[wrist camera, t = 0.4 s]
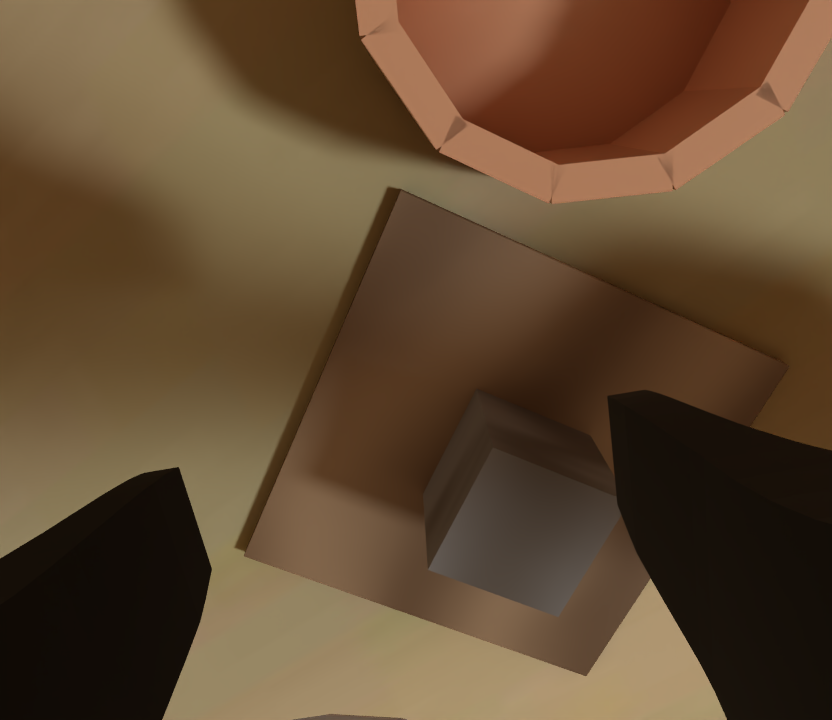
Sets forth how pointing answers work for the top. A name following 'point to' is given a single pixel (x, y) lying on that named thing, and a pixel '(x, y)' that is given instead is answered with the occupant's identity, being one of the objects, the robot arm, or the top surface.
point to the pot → (594, 83)
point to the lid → (487, 437)
